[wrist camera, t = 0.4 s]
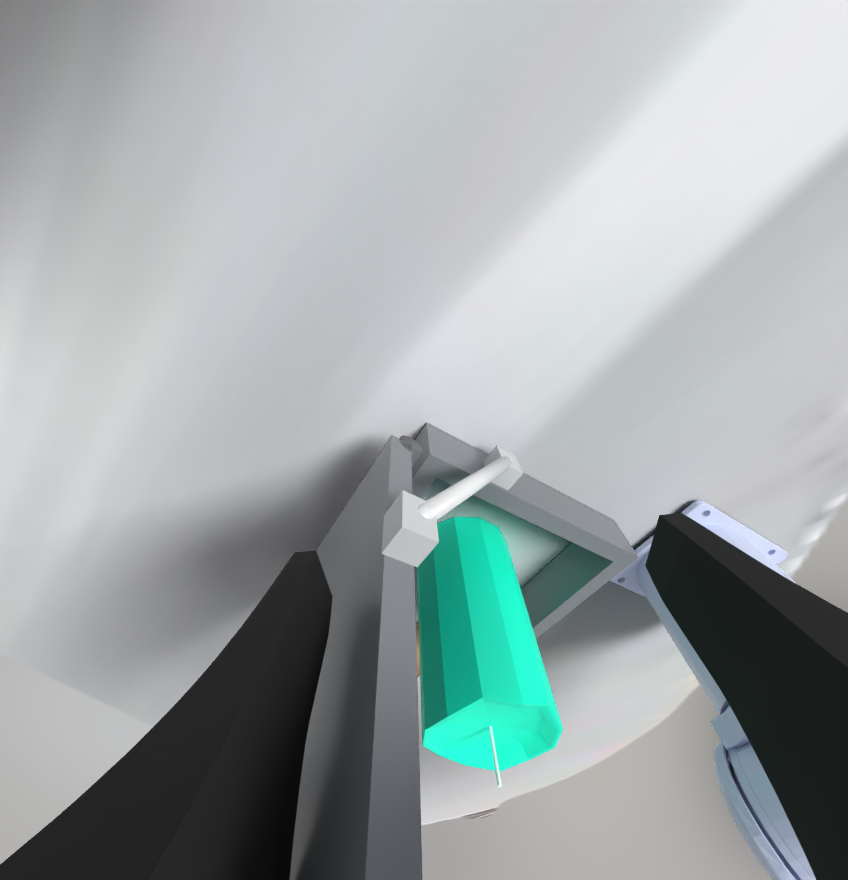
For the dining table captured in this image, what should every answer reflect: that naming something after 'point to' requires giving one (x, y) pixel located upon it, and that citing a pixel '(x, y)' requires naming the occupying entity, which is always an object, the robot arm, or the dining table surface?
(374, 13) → the dining table surface
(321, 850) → the grey bracket
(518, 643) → the candle
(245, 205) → the dining table surface
